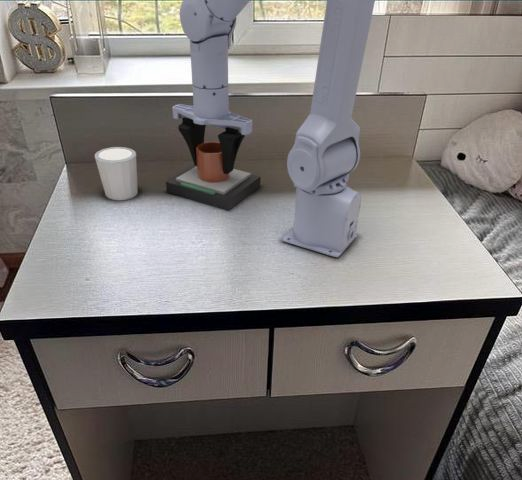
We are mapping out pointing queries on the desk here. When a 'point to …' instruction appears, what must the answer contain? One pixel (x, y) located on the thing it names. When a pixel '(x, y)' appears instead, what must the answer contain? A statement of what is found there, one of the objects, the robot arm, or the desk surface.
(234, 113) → the robot arm
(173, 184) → the scale
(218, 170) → the cup
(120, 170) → the shot glass
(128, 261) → the desk surface
